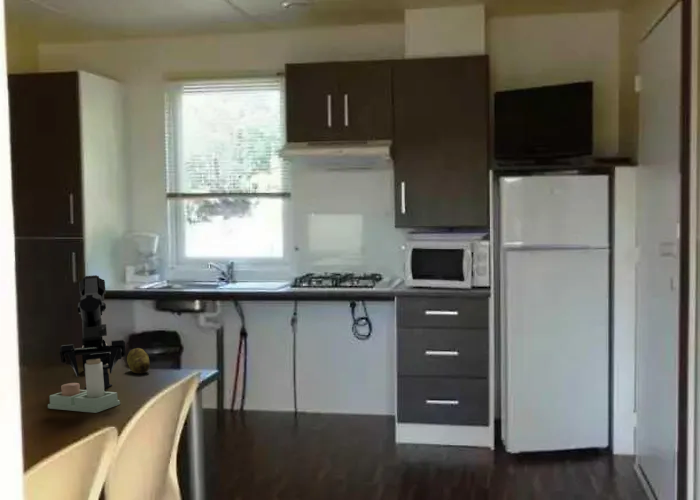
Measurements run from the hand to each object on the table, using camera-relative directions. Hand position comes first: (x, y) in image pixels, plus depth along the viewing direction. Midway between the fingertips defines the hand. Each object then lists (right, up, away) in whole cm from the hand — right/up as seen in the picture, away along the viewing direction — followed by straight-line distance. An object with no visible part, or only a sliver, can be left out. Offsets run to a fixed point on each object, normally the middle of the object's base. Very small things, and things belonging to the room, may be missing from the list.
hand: (94, 374), depth 240 cm
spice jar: (0, -9, +1) cm, 9 cm away
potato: (0, -7, +51) cm, 51 cm away
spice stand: (-4, -10, +3) cm, 11 cm away
